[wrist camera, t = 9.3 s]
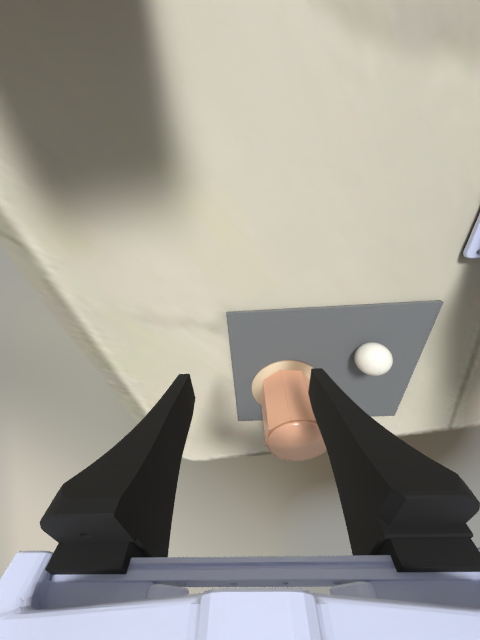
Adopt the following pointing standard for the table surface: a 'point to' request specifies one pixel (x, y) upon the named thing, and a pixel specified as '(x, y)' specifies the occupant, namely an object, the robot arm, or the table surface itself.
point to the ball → (373, 359)
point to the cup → (290, 417)
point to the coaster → (273, 369)
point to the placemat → (331, 348)
